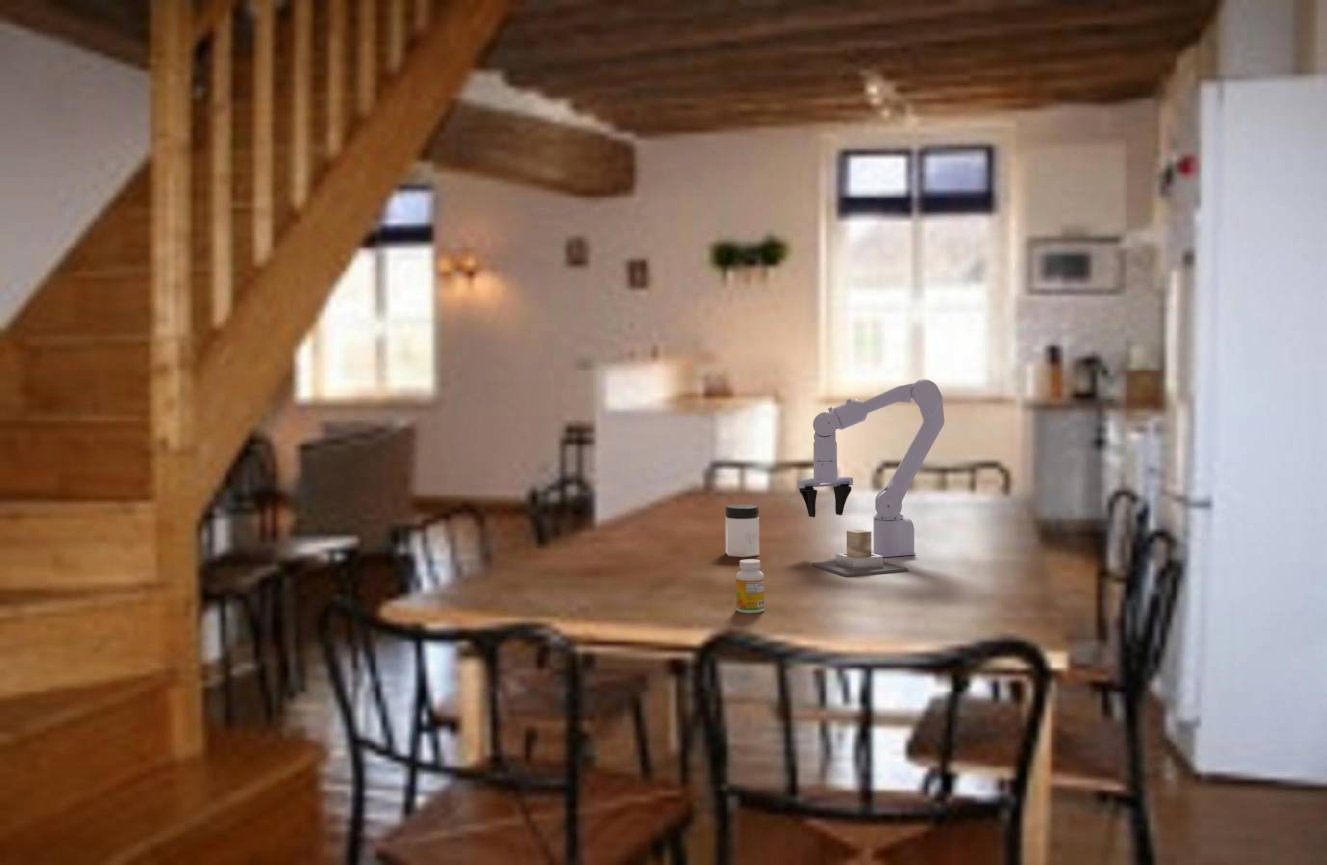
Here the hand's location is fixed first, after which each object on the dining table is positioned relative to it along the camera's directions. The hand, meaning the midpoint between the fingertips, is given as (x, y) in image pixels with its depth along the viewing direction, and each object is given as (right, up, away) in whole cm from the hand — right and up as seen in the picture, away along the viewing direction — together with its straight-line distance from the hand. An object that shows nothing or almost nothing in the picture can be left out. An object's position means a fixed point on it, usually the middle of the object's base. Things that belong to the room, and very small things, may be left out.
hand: (825, 515), depth 288 cm
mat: (+5, -11, -20) cm, 23 cm away
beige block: (+5, -10, -20) cm, 23 cm away
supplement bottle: (-23, -14, -63) cm, 69 cm away
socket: (+5, -11, -20) cm, 23 cm away
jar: (-20, -10, +1) cm, 23 cm away
